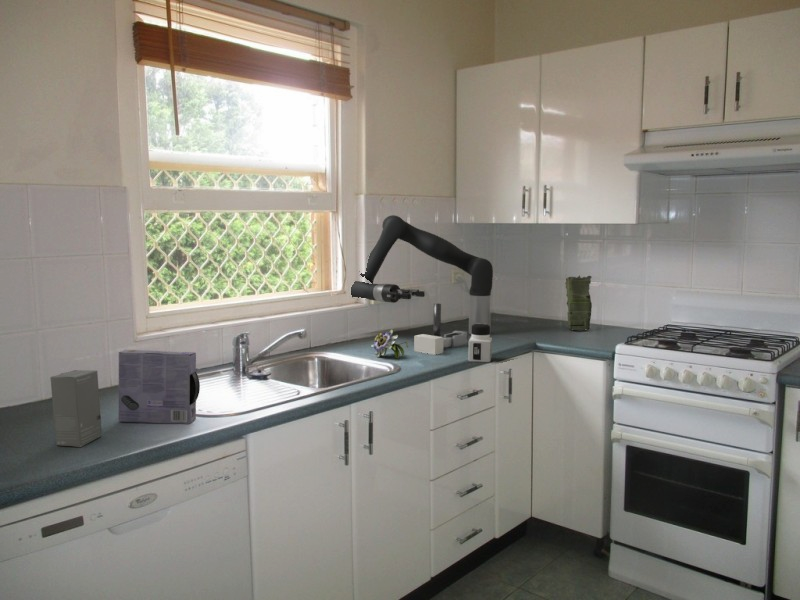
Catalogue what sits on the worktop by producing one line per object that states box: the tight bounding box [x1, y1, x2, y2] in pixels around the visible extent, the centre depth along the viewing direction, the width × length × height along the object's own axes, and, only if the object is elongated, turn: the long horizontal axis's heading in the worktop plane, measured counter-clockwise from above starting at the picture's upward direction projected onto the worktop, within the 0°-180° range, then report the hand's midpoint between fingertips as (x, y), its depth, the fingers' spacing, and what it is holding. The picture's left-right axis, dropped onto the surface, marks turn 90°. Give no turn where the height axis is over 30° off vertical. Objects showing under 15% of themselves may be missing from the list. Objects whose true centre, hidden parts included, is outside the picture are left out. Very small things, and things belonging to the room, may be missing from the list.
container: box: [467, 323, 493, 363], centre depth 239 cm, size 8×8×13 cm
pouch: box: [565, 275, 593, 331], centre depth 303 cm, size 11×12×25 cm
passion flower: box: [370, 329, 409, 360], centre depth 243 cm, size 11×11×12 cm
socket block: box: [413, 333, 444, 356], centre depth 252 cm, size 5×10×6 cm, turn 49°
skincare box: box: [50, 369, 103, 448], centre depth 150 cm, size 8×7×16 cm
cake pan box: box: [118, 349, 201, 425], centre depth 165 cm, size 19×5×18 cm, turn 88°
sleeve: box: [443, 330, 469, 349], centre depth 265 cm, size 9×5×5 cm, turn 139°
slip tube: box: [432, 302, 453, 349], centre depth 256 cm, size 16×3×17 cm, turn 139°
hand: (417, 295), depth 264 cm, fingers open, 8 cm apart
